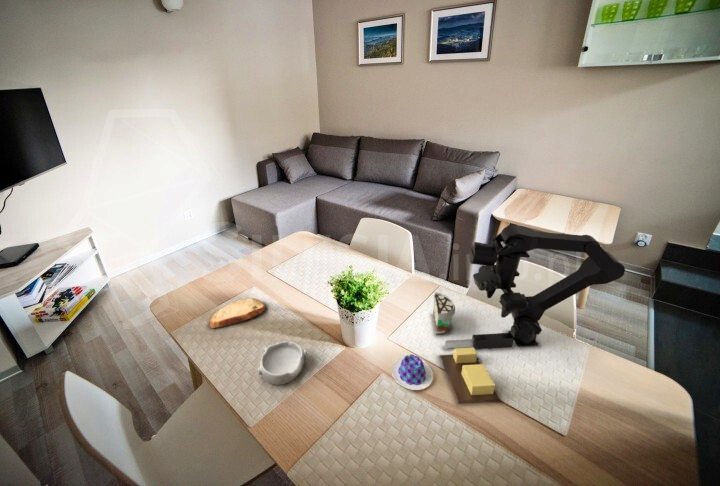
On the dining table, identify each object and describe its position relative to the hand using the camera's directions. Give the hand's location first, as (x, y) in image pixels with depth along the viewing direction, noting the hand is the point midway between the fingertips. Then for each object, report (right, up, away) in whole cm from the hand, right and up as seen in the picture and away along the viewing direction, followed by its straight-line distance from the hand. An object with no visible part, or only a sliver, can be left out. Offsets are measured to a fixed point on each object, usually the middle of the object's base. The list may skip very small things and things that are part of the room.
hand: (495, 307), depth 104 cm
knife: (-5, -13, +1) cm, 14 cm away
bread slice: (-88, -10, +24) cm, 92 cm away
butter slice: (-12, -15, -4) cm, 20 cm away
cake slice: (-13, -10, +11) cm, 19 cm away
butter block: (-12, -19, -12) cm, 25 cm away
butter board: (-13, -18, -9) cm, 24 cm away
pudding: (-29, -19, -6) cm, 35 cm away
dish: (-68, -19, 0) cm, 71 cm away
